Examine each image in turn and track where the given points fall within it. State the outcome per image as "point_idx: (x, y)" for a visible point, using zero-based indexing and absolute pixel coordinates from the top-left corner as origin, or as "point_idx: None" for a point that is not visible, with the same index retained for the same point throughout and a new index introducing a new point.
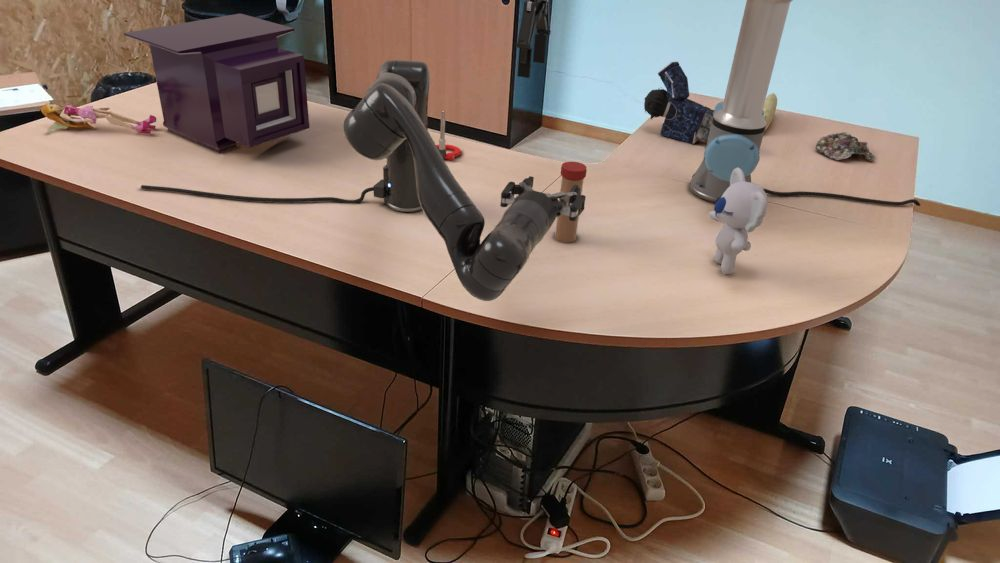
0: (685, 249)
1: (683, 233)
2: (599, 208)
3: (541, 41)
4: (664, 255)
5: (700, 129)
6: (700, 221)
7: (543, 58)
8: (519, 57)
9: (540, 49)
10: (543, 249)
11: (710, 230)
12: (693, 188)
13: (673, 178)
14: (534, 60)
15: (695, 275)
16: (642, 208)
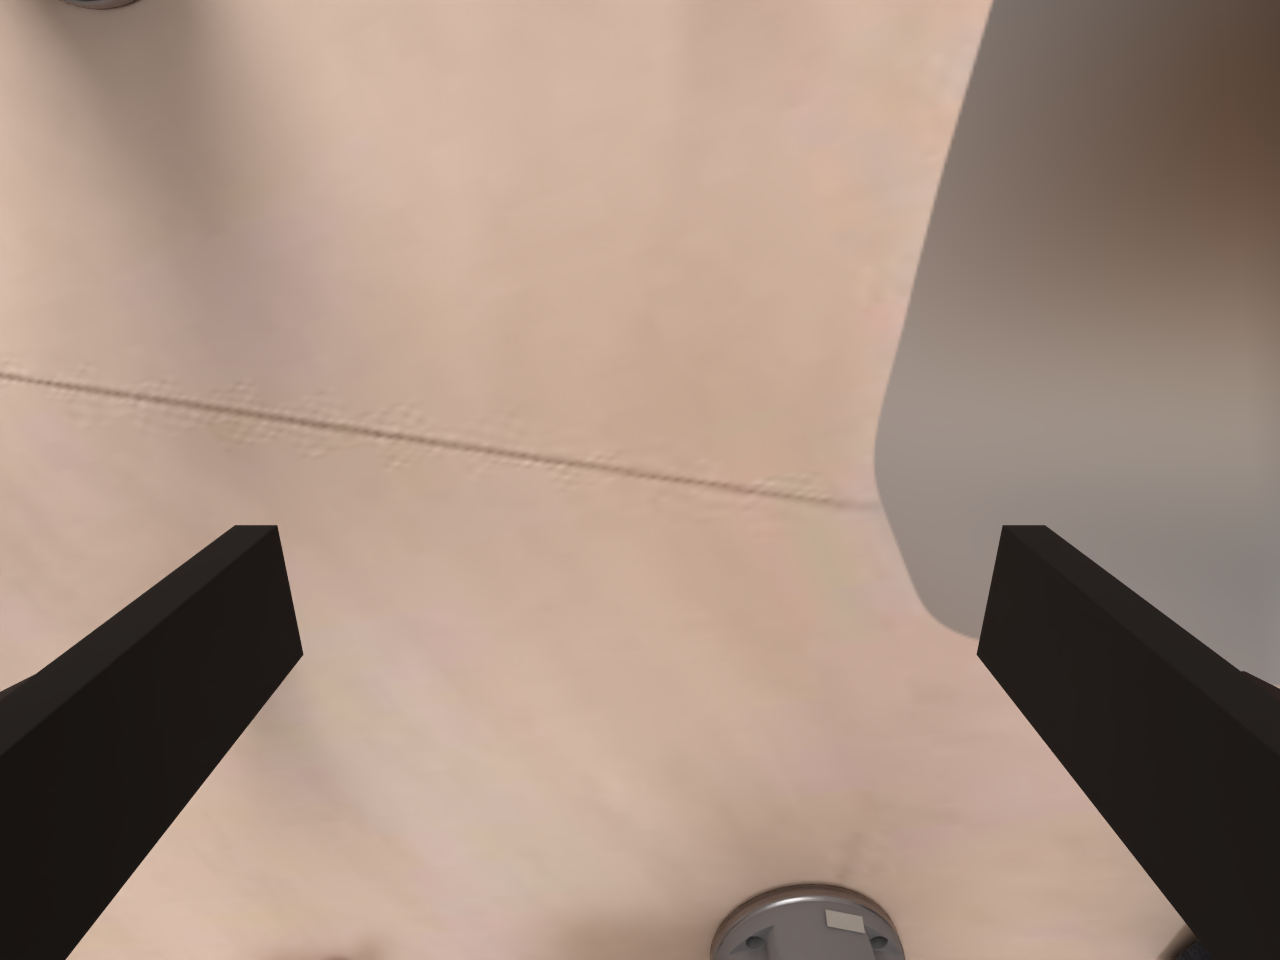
0: (368, 900)
1: (463, 889)
2: (505, 669)
3: (1190, 839)
4: (300, 861)
5: None
6: (566, 919)
7: (1007, 687)
8: (44, 683)
9: (1095, 720)
10: (106, 571)
11: (520, 941)
12: (766, 906)
13: (868, 836)
14: (1008, 553)
15: (241, 927)
16: (576, 782)
